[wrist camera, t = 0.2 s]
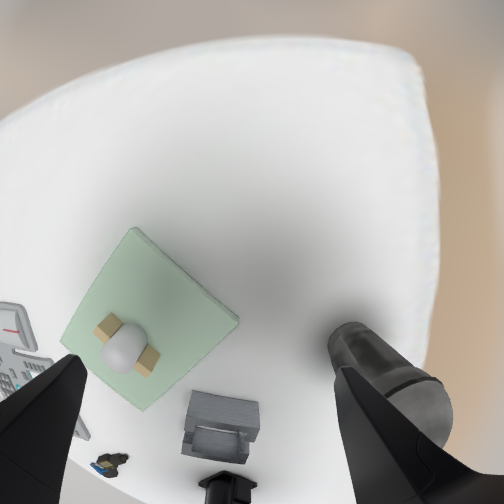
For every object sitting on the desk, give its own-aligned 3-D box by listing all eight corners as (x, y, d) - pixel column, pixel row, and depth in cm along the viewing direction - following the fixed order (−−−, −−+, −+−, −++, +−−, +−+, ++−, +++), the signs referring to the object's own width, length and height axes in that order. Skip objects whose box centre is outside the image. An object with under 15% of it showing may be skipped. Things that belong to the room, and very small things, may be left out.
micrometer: (105, 480, 28) (82, 464, 28) (108, 473, 30) (86, 457, 30) (143, 474, 27) (117, 456, 26) (146, 466, 29) (121, 447, 28)
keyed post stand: (145, 405, 26) (132, 435, 21) (64, 336, 24) (40, 358, 19) (238, 318, 24) (237, 348, 19) (135, 226, 22) (108, 235, 17)
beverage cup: (383, 302, 24) (531, 436, 4) (379, 362, 25) (476, 502, 6) (312, 316, 24) (415, 518, 4) (315, 378, 25) (376, 553, 6)
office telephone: (-42, 299, 21) (23, 305, 21) (-32, 294, 24) (37, 298, 24) (10, 420, 25) (90, 451, 26) (17, 413, 28) (96, 440, 28)
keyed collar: (244, 440, 27) (244, 464, 23) (186, 430, 27) (181, 453, 23) (258, 402, 26) (260, 428, 22) (192, 390, 25) (186, 415, 21)
